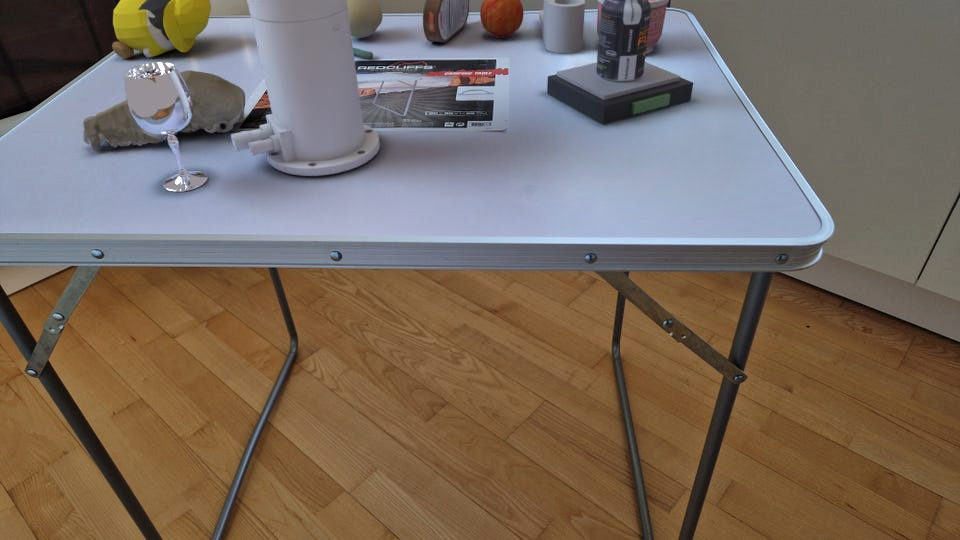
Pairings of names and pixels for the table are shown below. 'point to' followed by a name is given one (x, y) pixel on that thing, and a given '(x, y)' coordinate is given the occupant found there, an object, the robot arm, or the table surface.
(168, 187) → the wineglass
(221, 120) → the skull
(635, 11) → the pill bottle
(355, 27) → the potato
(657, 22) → the container
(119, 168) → the table surface
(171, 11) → the toy
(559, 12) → the grey hollow cylinder
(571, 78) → the scale
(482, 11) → the fruit
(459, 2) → the tin
